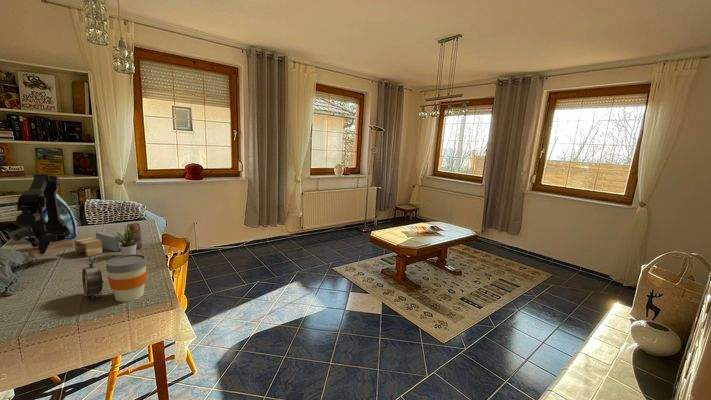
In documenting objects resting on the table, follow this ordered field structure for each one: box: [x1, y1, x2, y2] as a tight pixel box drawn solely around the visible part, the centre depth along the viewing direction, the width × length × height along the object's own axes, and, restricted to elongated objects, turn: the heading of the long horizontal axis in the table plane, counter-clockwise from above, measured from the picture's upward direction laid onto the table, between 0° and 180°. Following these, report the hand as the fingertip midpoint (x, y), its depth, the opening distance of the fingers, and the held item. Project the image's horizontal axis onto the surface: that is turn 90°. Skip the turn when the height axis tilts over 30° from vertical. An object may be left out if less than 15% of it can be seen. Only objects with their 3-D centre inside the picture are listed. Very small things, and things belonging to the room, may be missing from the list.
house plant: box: [112, 226, 143, 256], centre depth 152 cm, size 14×14×16 cm
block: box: [73, 236, 103, 258], centre depth 153 cm, size 11×6×7 cm, turn 69°
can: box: [125, 222, 143, 251], centre depth 163 cm, size 6×6×14 cm
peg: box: [26, 238, 74, 259], centre depth 140 cm, size 4×15×4 cm, turn 166°
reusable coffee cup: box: [105, 253, 148, 302], centre depth 113 cm, size 13×13×15 cm
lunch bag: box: [43, 193, 79, 239], centre depth 174 cm, size 22×17×26 cm
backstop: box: [95, 231, 120, 252], centre depth 161 cm, size 16×2×8 cm, turn 69°
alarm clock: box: [81, 256, 104, 302], centre depth 112 cm, size 11×5×16 cm, turn 49°
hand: (40, 253), depth 136 cm, fingers closed on peg, 4 cm apart
